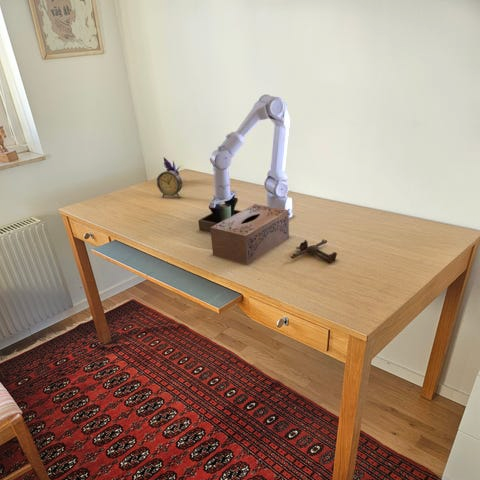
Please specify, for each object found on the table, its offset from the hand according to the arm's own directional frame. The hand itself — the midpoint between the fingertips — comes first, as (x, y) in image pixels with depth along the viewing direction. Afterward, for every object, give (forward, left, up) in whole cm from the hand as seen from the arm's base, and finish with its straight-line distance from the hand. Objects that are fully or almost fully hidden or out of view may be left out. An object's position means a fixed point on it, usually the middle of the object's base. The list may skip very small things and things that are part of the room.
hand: (224, 220), depth 170 cm
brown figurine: (-42, +7, -3) cm, 42 cm away
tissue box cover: (-19, +10, -3) cm, 21 cm away
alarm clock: (+44, -20, -3) cm, 49 cm away
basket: (-1, 0, -3) cm, 3 cm away
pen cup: (0, 0, -2) cm, 2 cm away
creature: (+60, -37, -3) cm, 70 cm away
